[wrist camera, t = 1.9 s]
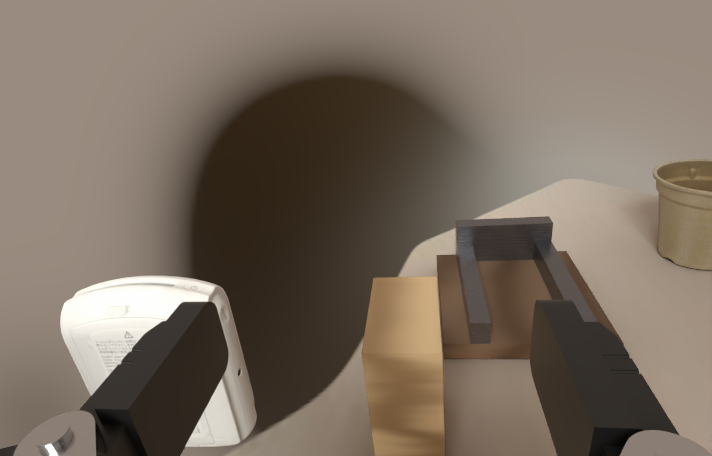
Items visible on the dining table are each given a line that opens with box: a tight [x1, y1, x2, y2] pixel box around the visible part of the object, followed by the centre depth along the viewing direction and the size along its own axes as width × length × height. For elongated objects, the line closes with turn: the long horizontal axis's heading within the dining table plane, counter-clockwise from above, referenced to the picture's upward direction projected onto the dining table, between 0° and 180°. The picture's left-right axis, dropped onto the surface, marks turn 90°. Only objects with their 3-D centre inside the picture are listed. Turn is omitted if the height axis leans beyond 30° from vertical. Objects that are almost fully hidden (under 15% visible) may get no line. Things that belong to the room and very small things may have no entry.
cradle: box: [437, 217, 624, 359], centre depth 39 cm, size 13×14×6 cm
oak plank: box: [362, 276, 445, 456], centre depth 27 cm, size 4×7×10 cm, turn 173°
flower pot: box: [653, 159, 712, 270], centre depth 43 cm, size 9×9×9 cm
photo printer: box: [60, 276, 257, 447], centre depth 29 cm, size 10×4×12 cm, turn 86°
